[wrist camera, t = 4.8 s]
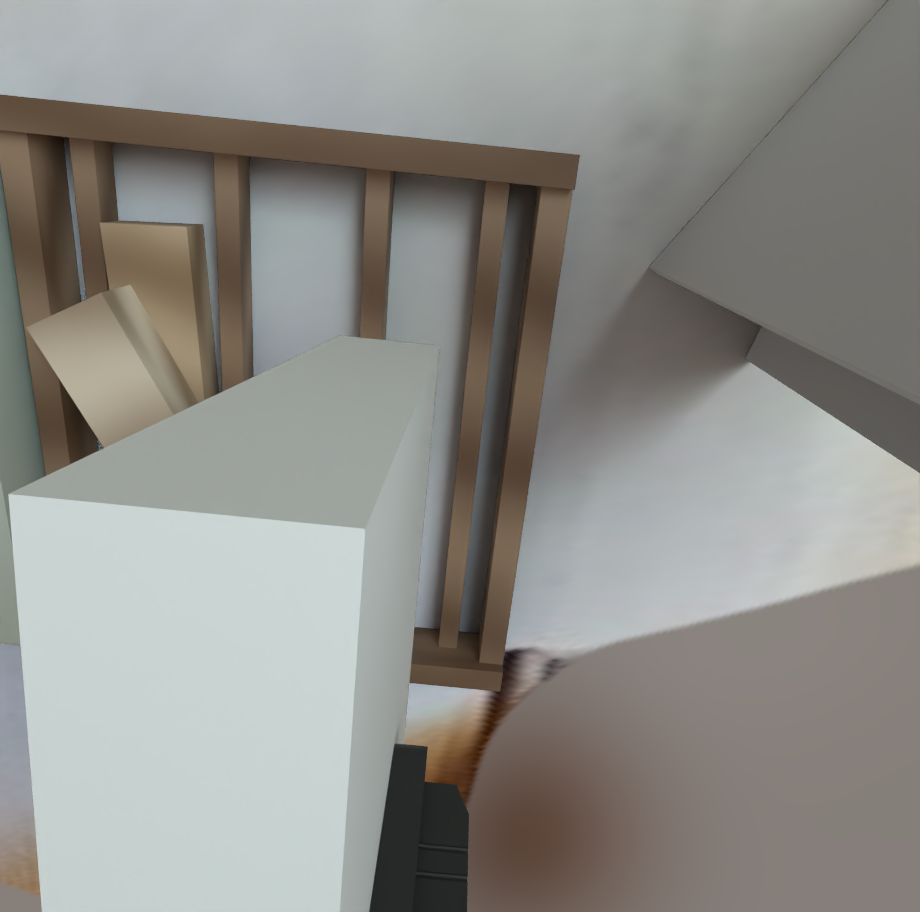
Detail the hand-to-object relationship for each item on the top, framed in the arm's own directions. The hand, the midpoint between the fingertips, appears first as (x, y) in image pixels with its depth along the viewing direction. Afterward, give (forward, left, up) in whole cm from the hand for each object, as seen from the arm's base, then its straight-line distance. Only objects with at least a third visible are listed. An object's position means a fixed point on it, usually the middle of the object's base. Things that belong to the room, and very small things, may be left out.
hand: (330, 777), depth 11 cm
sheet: (+1, 0, -4) cm, 4 cm away
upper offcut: (+1, -9, -16) cm, 18 cm away
